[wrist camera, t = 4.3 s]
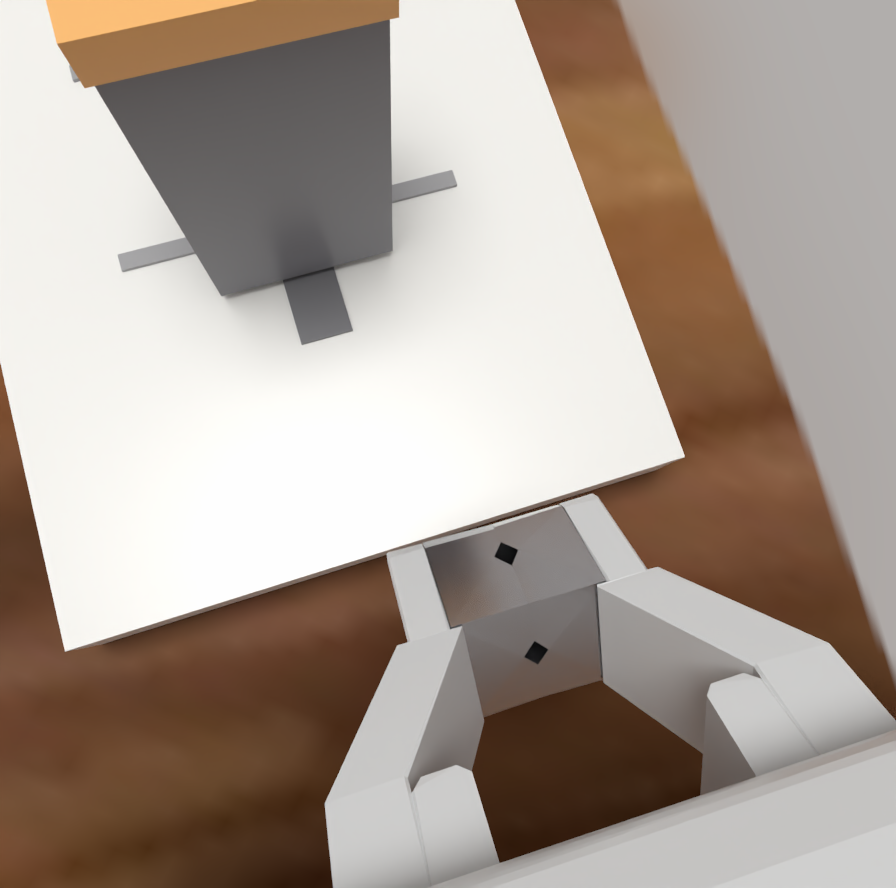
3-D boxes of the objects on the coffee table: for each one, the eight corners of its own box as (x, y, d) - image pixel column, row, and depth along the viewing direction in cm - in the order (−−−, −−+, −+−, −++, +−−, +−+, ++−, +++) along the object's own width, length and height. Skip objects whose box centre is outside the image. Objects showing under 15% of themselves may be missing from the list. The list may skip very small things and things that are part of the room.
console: (655, 470, 19) (686, 455, 17) (102, 644, 17) (63, 651, 15) (347, -373, 24) (342, -465, 21) (-117, -299, 22) (-170, -391, 20)
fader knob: (398, 253, 17) (399, -31, 9) (217, 301, 17) (56, 43, 9) (359, 132, 18) (328, -236, 10) (183, 175, 17) (0, -177, 9)
